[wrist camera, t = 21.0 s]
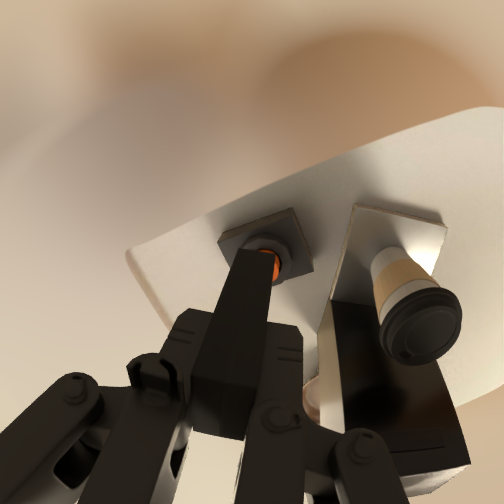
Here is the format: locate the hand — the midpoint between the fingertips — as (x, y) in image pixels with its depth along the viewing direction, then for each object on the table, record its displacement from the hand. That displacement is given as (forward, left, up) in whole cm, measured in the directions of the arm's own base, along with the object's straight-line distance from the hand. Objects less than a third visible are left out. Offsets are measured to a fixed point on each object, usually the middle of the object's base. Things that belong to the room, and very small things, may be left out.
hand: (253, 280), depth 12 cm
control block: (+11, 0, -26) cm, 29 cm away
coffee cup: (+10, +17, -25) cm, 32 cm away
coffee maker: (+14, +17, -26) cm, 34 cm away
